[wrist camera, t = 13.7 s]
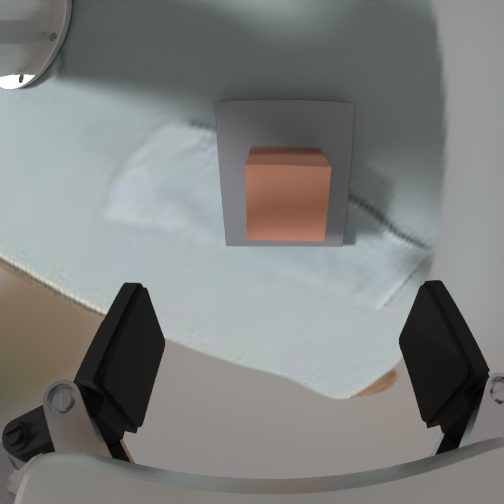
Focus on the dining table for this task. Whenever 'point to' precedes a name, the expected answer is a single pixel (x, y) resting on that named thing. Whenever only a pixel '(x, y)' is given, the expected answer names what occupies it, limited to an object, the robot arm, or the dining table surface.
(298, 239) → the brown cube
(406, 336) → the robot arm
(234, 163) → the slate board
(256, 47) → the dining table surface
